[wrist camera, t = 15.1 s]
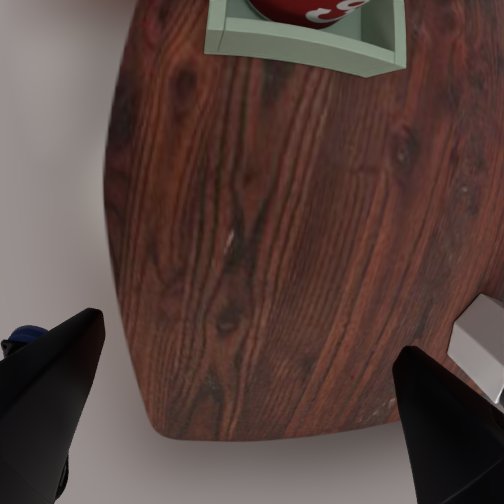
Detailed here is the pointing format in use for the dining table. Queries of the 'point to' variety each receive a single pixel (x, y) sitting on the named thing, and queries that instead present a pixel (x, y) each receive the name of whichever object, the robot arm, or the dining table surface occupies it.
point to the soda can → (306, 11)
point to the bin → (313, 37)
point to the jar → (481, 345)
